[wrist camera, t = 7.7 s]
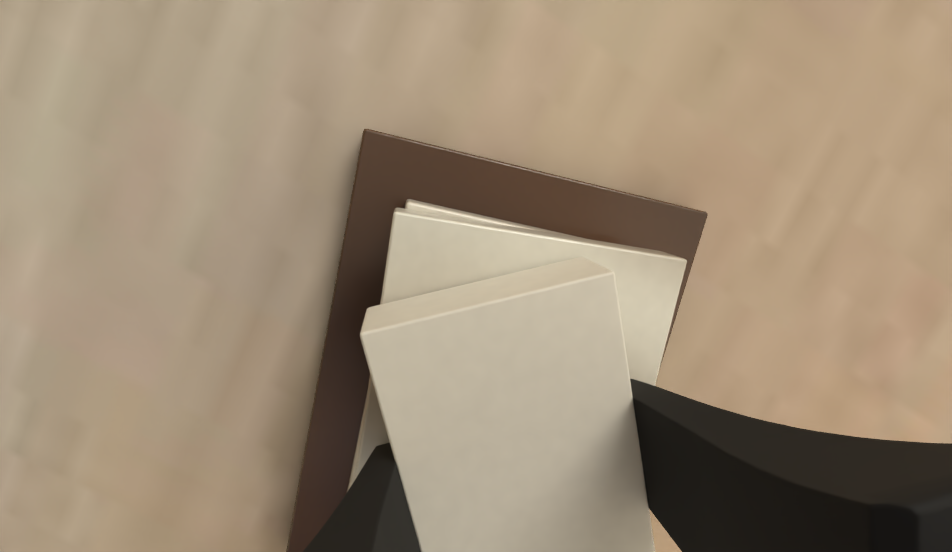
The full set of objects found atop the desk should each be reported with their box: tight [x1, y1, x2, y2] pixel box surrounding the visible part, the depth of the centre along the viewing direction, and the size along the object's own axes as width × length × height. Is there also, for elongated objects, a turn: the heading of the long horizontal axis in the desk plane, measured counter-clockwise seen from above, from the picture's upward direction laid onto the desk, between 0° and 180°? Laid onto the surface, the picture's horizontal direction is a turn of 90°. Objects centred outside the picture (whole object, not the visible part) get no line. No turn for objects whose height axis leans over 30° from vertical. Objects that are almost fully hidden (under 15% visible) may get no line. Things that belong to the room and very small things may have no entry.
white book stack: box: [287, 129, 707, 552], centre depth 14 cm, size 13×10×3 cm
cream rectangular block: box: [360, 257, 655, 552], centre depth 11 cm, size 8×5×2 cm, turn 12°
